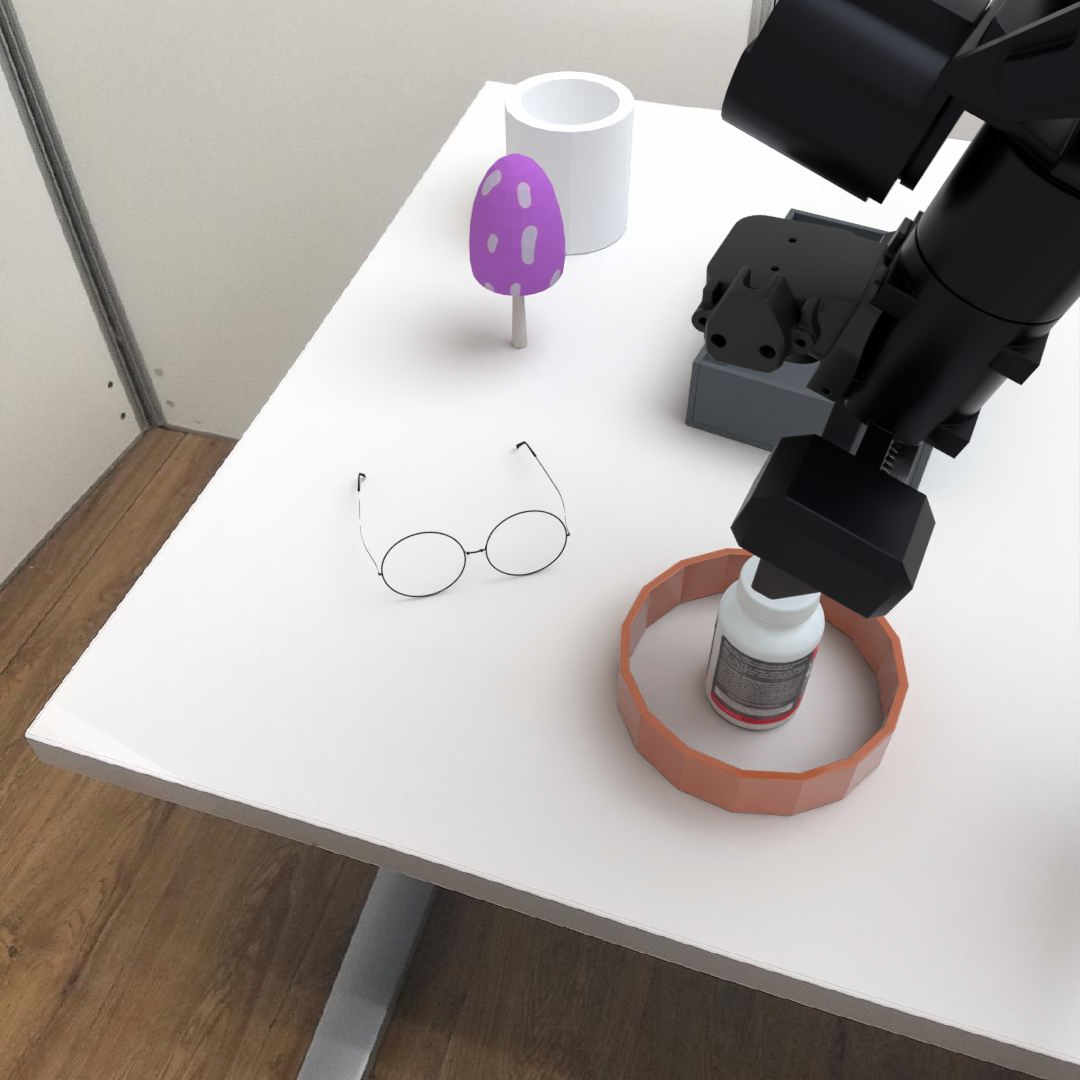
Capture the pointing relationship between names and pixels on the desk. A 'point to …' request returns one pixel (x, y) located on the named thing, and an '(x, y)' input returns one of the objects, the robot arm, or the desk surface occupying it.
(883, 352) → the robot arm
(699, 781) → the ring
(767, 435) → the bin
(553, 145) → the mug
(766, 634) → the pill bottle
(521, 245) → the toy
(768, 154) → the desk surface
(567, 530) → the eyeglasses
